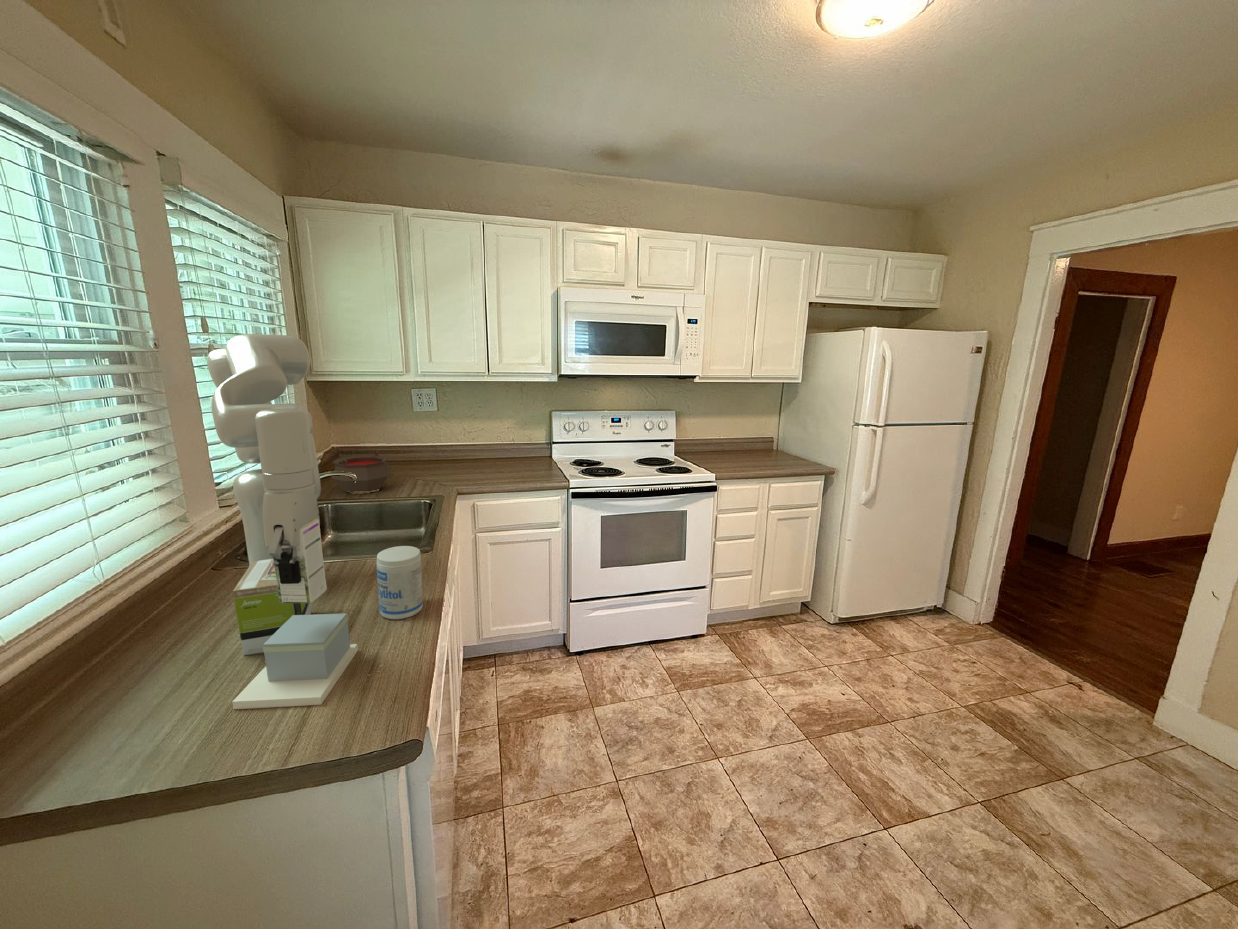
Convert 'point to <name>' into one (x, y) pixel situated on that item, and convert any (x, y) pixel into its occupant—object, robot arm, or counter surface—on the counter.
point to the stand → (300, 663)
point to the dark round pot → (362, 472)
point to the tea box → (261, 606)
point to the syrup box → (305, 568)
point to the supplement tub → (399, 582)
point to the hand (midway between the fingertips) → (300, 573)
